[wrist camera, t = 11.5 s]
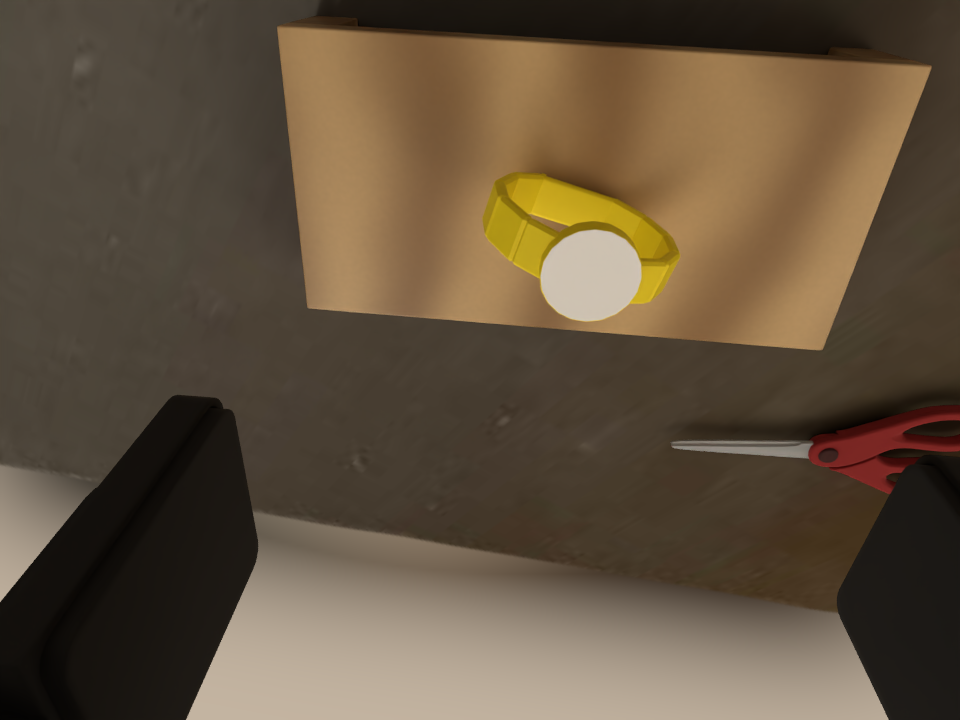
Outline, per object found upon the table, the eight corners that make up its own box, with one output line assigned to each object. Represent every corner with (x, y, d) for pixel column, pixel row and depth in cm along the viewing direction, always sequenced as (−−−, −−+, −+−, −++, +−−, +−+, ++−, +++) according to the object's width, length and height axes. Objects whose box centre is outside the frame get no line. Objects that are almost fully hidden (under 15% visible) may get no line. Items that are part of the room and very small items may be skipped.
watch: (481, 213, 23) (463, 285, 18) (507, 136, 21) (495, 192, 16) (638, 267, 23) (663, 352, 18) (673, 196, 22) (712, 267, 17)
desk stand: (334, 267, 29) (306, 308, 25) (314, 15, 24) (275, 25, 20) (789, 303, 28) (822, 351, 25) (875, 49, 23) (933, 65, 19)
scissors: (943, 491, 32) (954, 505, 31) (662, 478, 33) (665, 492, 33) (986, 402, 29) (999, 416, 29) (676, 392, 31) (680, 405, 30)
